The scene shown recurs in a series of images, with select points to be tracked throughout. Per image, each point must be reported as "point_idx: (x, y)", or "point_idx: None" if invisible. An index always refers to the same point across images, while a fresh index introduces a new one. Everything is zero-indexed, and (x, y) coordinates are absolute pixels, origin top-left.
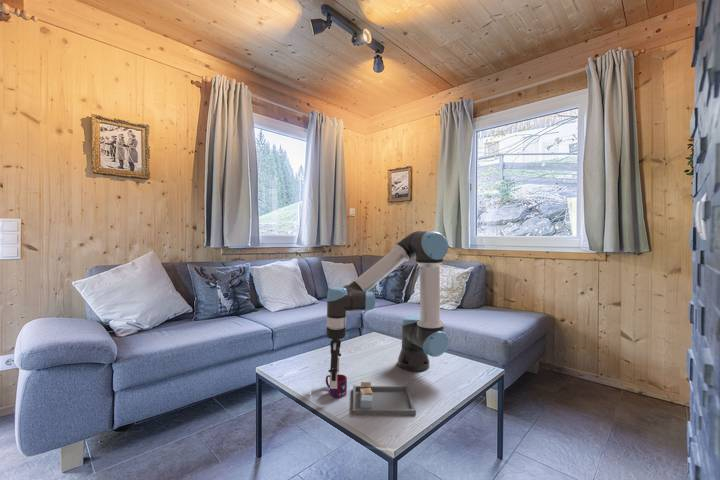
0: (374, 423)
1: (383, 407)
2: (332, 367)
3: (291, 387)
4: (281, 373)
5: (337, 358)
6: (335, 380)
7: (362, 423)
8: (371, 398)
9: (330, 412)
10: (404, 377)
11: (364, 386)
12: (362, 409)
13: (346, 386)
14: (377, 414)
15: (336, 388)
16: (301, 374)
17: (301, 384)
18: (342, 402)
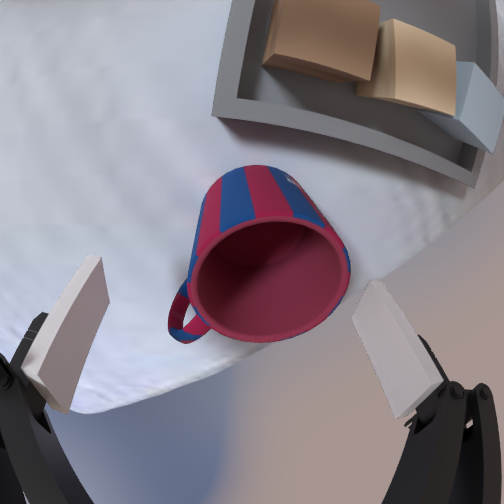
0: None
1: (444, 23)
2: (470, 433)
3: (170, 382)
4: (83, 391)
5: (491, 481)
6: (418, 336)
7: (489, 155)
8: (494, 89)
9: (401, 261)
10: None
11: (366, 49)
12: None
13: (292, 189)
14: None
15: (380, 285)
16: None
17: (141, 360)
18: (345, 201)
